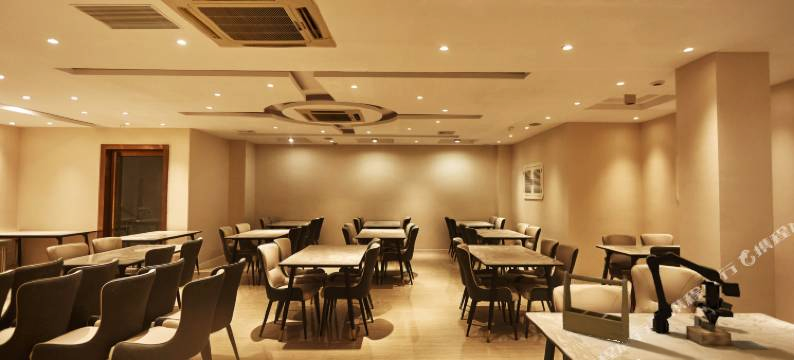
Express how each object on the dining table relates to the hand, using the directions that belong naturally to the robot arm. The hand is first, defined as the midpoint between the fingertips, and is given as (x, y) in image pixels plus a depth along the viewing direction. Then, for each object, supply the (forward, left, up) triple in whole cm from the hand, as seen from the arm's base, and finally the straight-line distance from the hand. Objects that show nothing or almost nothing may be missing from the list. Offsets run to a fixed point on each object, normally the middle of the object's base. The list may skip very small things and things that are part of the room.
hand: (712, 326), depth 196 cm
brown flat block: (-4, -3, -7) cm, 8 cm away
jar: (+14, +21, -7) cm, 26 cm away
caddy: (-54, +7, -7) cm, 55 cm away
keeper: (0, +8, -7) cm, 10 cm away
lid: (-4, -3, -3) cm, 6 cm away
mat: (+11, -6, -7) cm, 14 cm away
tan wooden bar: (0, +8, 0) cm, 8 cm away
